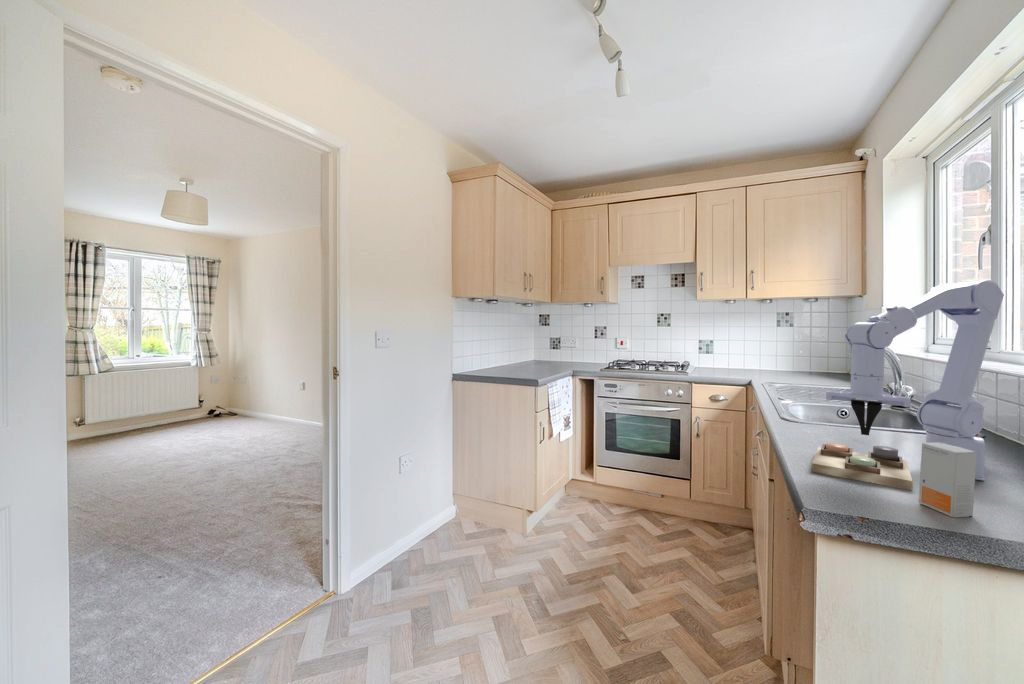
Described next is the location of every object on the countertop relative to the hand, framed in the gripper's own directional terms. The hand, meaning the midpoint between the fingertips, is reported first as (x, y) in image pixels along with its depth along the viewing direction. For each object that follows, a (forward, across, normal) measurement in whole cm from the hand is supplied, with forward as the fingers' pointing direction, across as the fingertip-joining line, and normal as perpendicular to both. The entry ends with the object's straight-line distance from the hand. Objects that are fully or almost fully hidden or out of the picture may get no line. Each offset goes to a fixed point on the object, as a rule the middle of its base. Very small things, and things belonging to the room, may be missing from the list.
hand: (865, 434), depth 96 cm
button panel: (+9, -1, +3) cm, 10 cm away
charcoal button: (+6, +4, +6) cm, 9 cm away
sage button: (+7, 0, -2) cm, 7 cm away
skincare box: (+10, +12, -14) cm, 21 cm away
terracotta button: (+7, -5, +7) cm, 11 cm away
